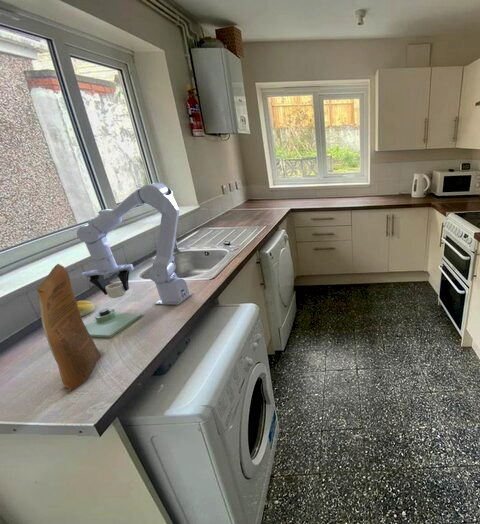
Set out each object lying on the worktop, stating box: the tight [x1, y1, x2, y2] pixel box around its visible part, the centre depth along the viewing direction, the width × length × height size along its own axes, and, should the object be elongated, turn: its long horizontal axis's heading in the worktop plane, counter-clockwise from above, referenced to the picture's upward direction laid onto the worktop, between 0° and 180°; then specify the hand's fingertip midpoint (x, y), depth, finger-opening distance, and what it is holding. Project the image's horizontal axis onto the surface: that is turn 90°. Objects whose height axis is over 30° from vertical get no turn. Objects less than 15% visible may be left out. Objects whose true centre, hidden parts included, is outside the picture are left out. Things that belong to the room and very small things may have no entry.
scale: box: [84, 308, 142, 338], centre depth 96 cm, size 14×12×2 cm
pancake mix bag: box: [35, 263, 102, 392], centre depth 72 cm, size 7×19×28 cm, turn 25°
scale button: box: [98, 308, 110, 316], centre depth 99 cm, size 3×3×2 cm
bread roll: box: [76, 300, 95, 318], centre depth 105 cm, size 8×9×4 cm
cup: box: [105, 281, 128, 299], centre depth 105 cm, size 6×6×4 cm
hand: (117, 291), depth 106 cm, fingers closed on cup, 6 cm apart
